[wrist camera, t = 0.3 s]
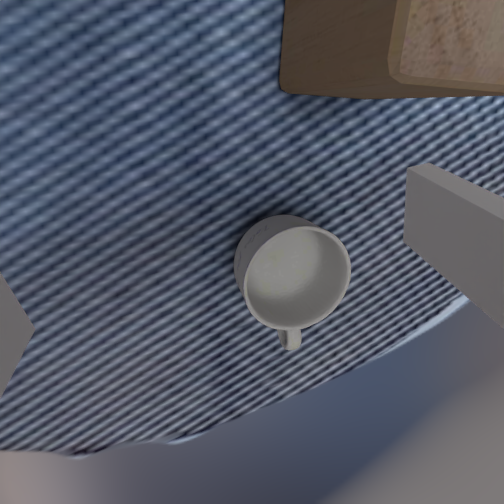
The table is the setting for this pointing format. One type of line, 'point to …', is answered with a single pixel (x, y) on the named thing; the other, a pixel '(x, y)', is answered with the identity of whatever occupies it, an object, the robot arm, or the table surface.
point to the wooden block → (393, 48)
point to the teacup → (291, 274)
